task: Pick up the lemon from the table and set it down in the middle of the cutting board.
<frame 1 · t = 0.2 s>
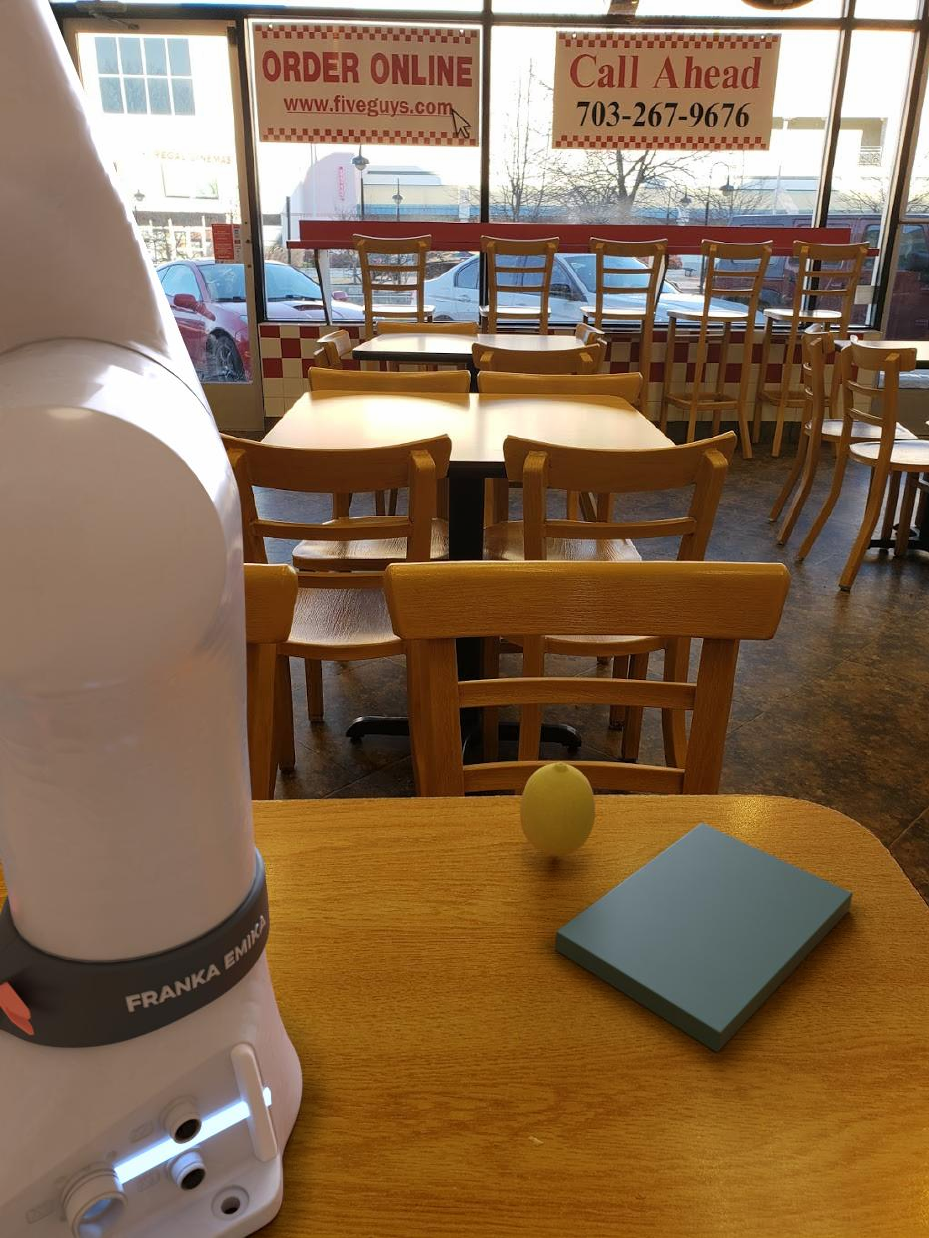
lemon: (554, 858, 71), on the table
cutting board: (707, 929, 64), on the table
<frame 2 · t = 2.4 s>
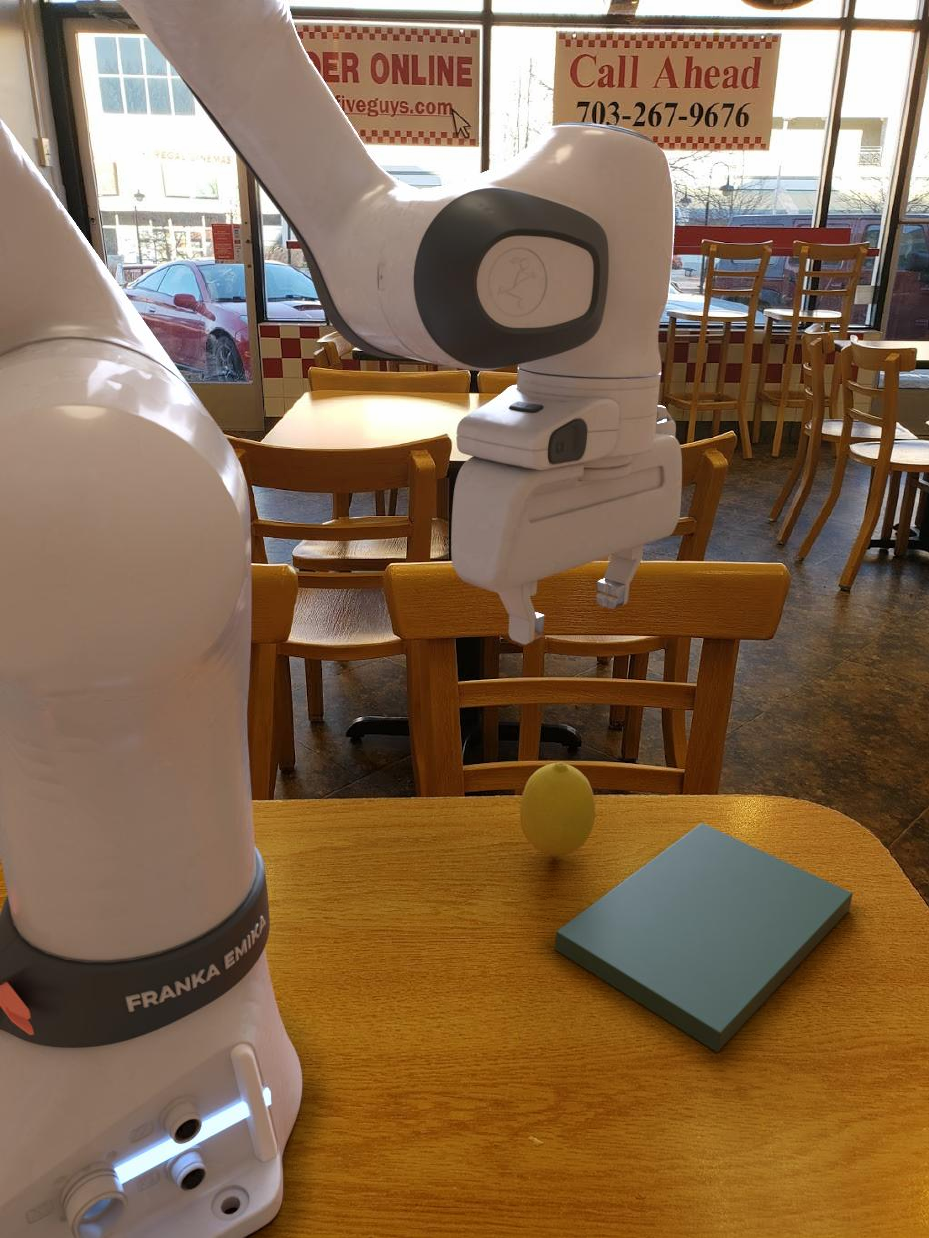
hand: (570, 621, 64), 19 cm above the table, tool pointing down, fingers open, 8 cm apart
nothing on the table moved.
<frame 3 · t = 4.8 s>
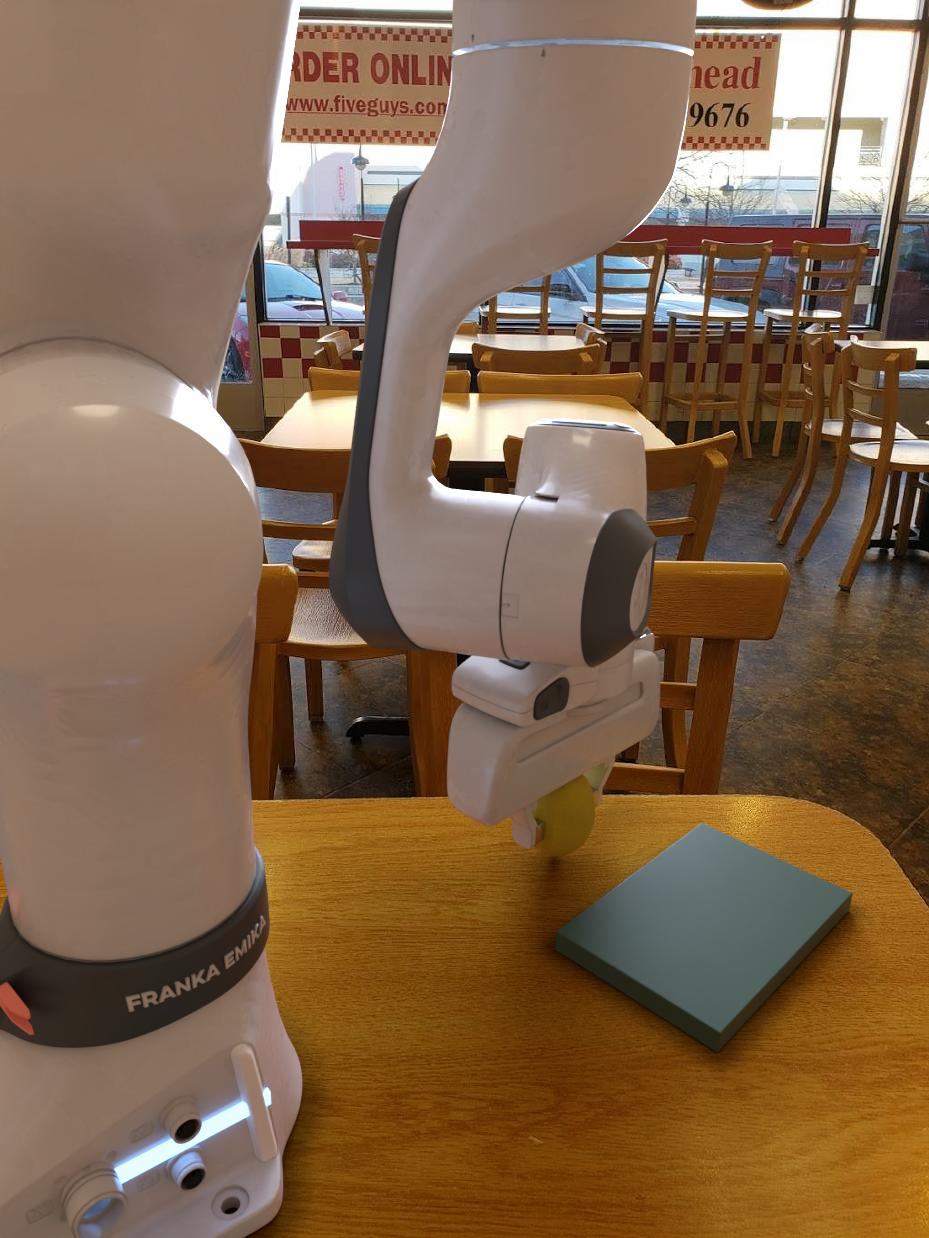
hand: (557, 823, 70), 3 cm above the table, tool pointing down, fingers closed on lemon, 5 cm apart
lemon: (554, 858, 71), on the table, touching gripper
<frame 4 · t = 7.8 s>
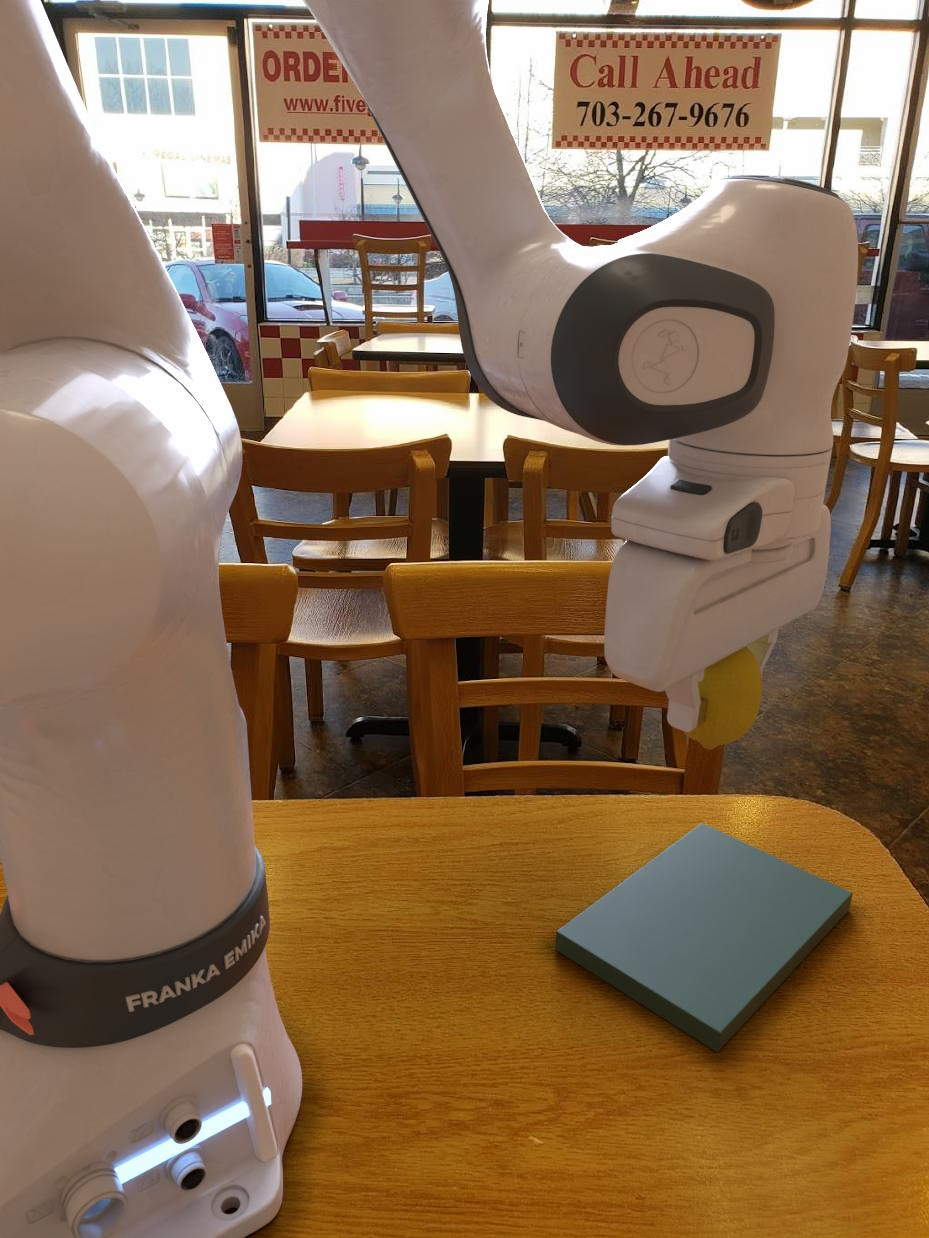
hand: (714, 708, 59), 16 cm above the table, tool pointing down, fingers closed on lemon, 5 cm apart
lemon: (707, 751, 60), point 13 cm above the table, touching gripper
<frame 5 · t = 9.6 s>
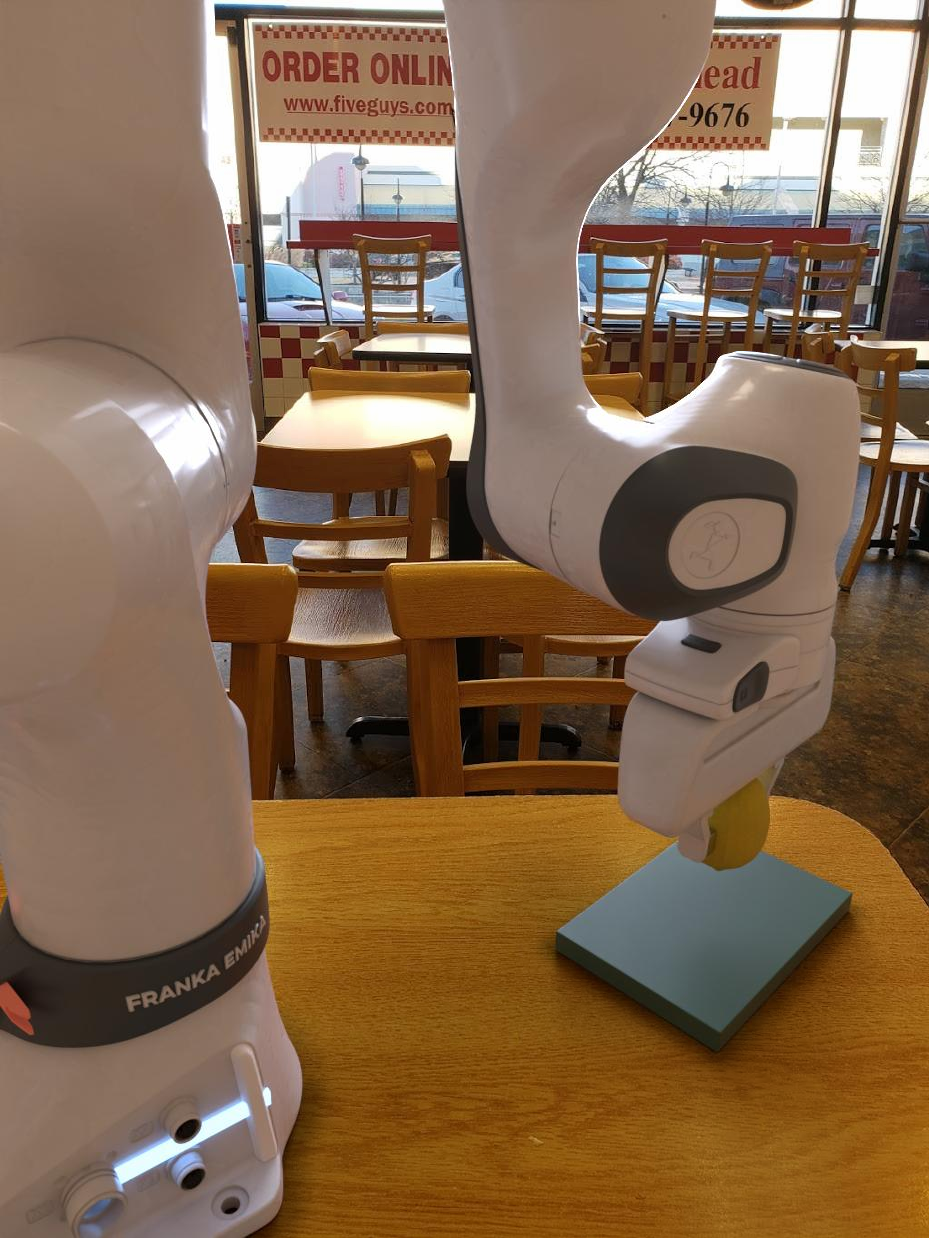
hand: (723, 832, 61), 8 cm above the table, tool pointing down, fingers closed on lemon, 5 cm apart
lemon: (717, 871, 62), point 5 cm above the table, touching gripper
when the fingers open (4 cm above the table, at t = 11.0 s): lemon stays where it is, resting on cutting board.
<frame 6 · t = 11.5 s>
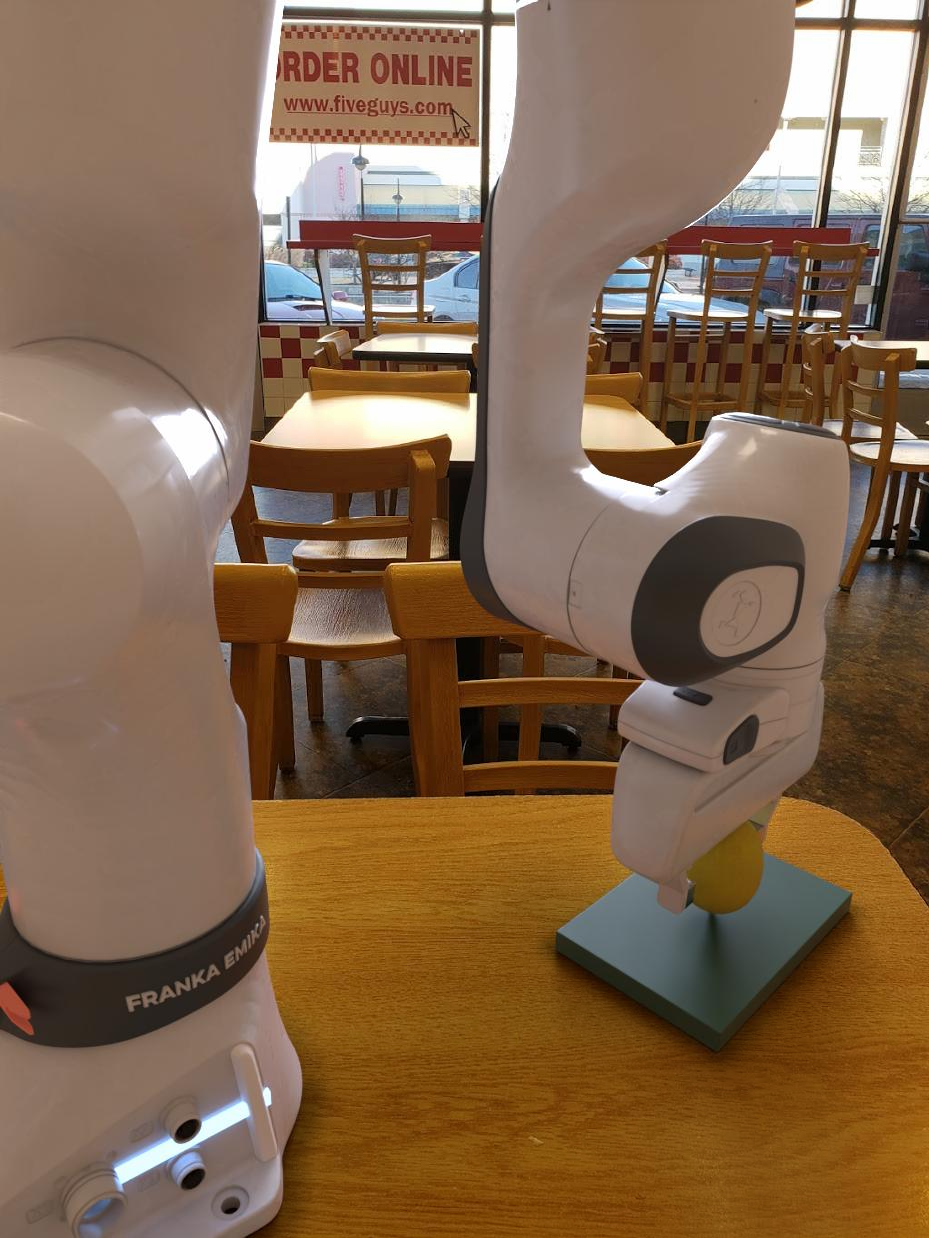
hand: (713, 872, 62), 5 cm above the table, tool pointing down, fingers open, 8 cm apart
lemon: (711, 914, 63), point 1 cm above the table, touching cutting board
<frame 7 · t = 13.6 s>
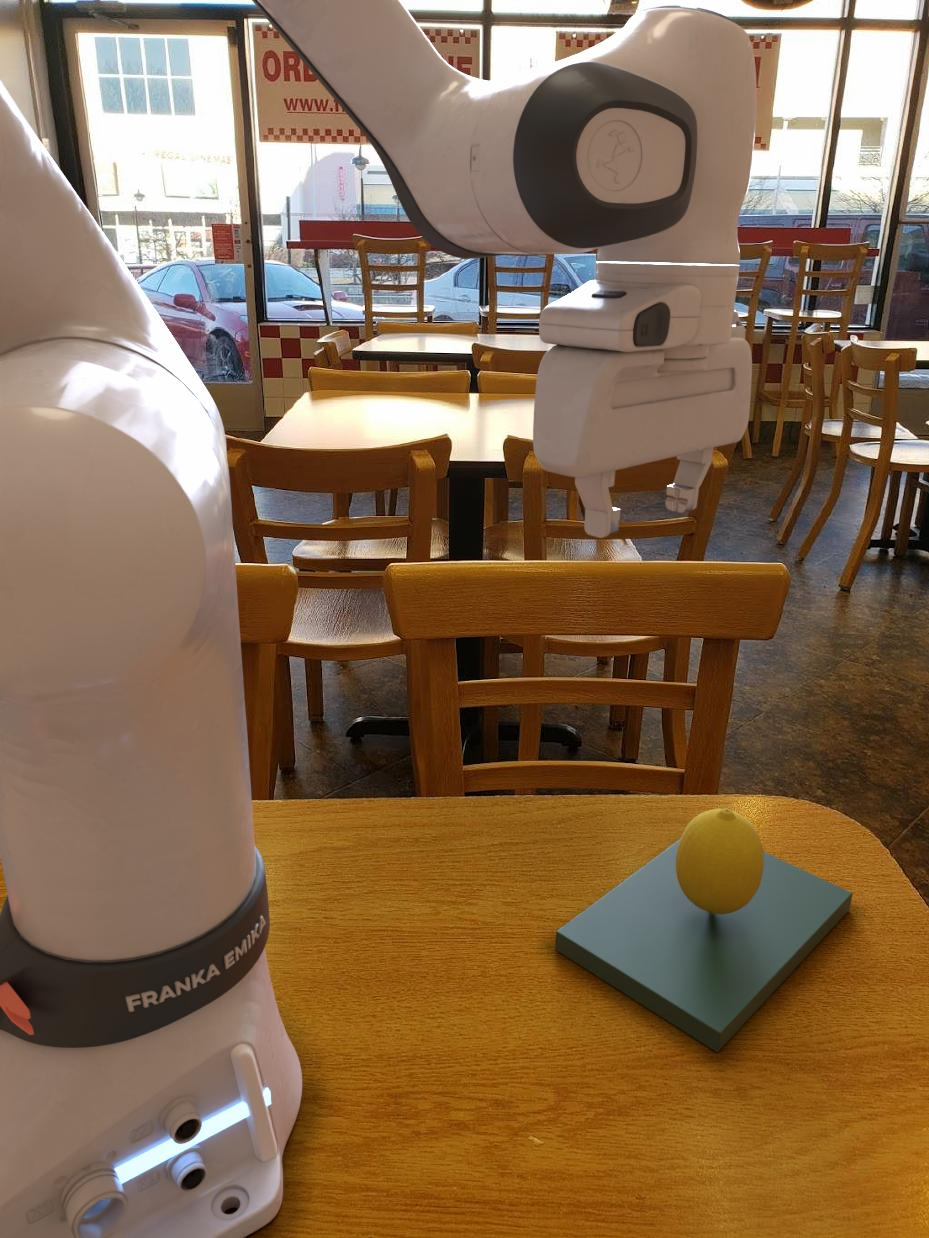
hand: (642, 522, 65), 25 cm above the table, tool pointing down, fingers open, 8 cm apart
nothing on the table moved.
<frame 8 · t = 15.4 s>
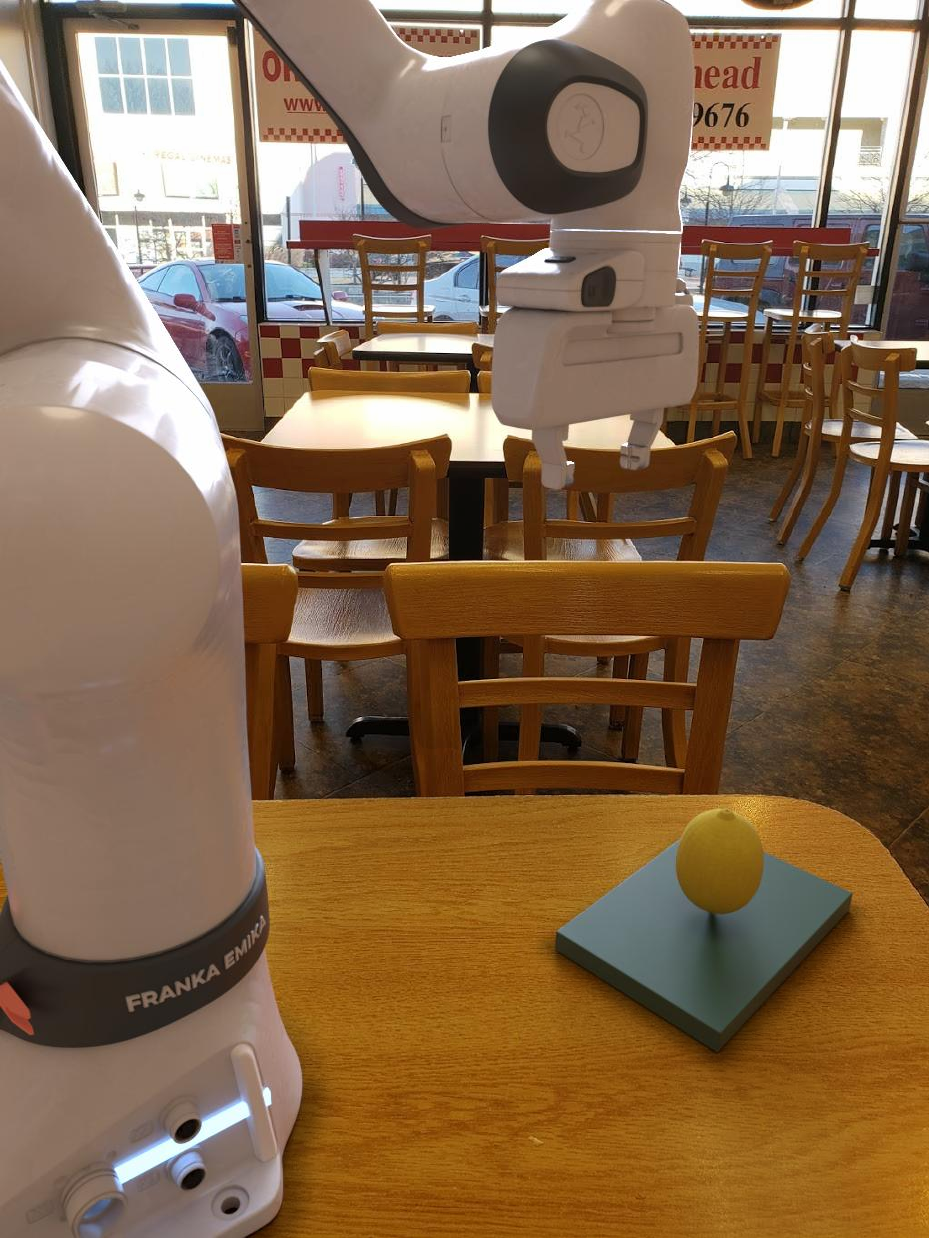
hand: (597, 477, 69), 27 cm above the table, tool pointing down, fingers open, 8 cm apart
nothing on the table moved.
at the end: lemon inside the target area (0.2 cm from its centre), point 1.3 cm above the table; lemon touching cutting board; the gripper is holding nothing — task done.
